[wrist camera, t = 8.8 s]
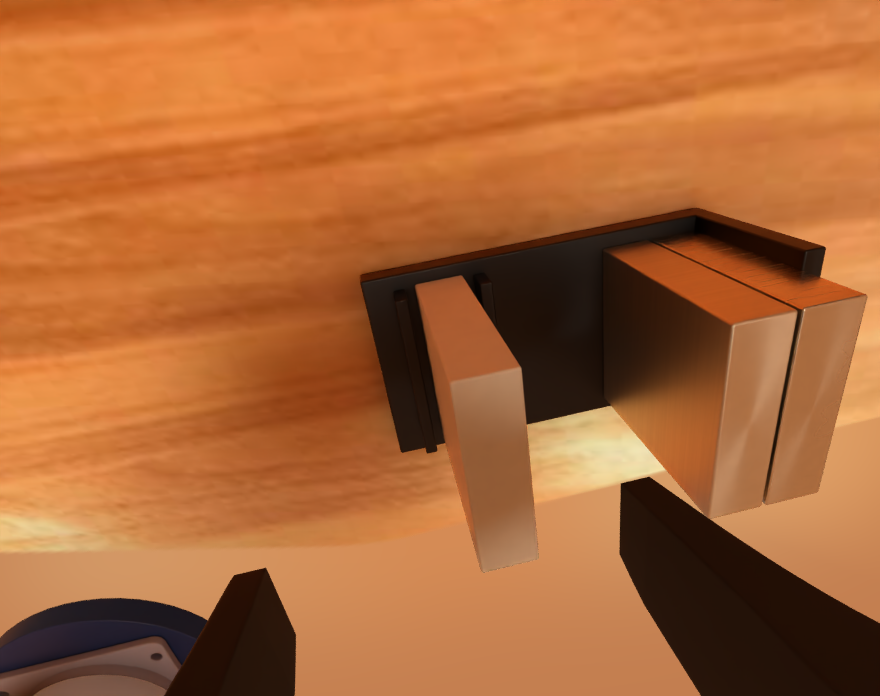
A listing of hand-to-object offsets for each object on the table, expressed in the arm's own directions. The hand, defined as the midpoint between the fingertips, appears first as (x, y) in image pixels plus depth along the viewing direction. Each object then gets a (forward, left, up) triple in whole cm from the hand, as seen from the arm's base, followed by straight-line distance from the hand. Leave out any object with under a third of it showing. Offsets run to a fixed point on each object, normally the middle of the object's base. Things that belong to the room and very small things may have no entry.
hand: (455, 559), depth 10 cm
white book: (0, -1, -8) cm, 9 cm away
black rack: (0, -5, -9) cm, 10 cm away
